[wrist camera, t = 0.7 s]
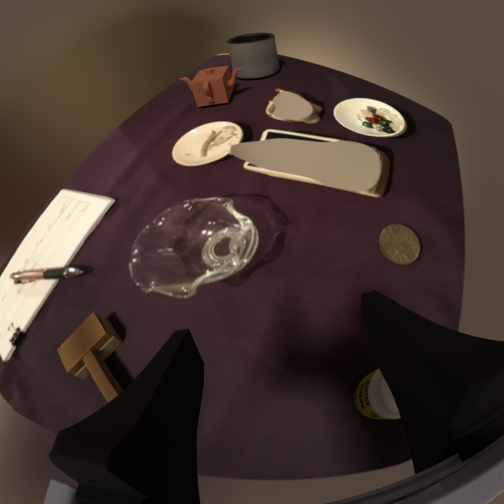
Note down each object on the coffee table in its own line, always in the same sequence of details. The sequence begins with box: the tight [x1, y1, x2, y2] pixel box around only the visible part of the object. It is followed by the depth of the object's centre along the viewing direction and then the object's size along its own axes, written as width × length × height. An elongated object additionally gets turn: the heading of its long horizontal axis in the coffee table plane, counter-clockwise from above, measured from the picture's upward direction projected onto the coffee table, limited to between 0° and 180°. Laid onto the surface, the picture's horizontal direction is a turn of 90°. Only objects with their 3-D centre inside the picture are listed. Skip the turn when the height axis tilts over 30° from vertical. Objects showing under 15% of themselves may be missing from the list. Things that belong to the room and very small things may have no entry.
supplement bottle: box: [354, 368, 401, 419], centre depth 19 cm, size 5×5×8 cm
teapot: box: [180, 66, 243, 107], centre depth 55 cm, size 12×15×8 cm
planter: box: [227, 33, 279, 79], centre depth 61 cm, size 13×12×11 cm
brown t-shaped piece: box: [57, 312, 123, 403], centre depth 26 cm, size 8×14×3 cm, turn 46°
